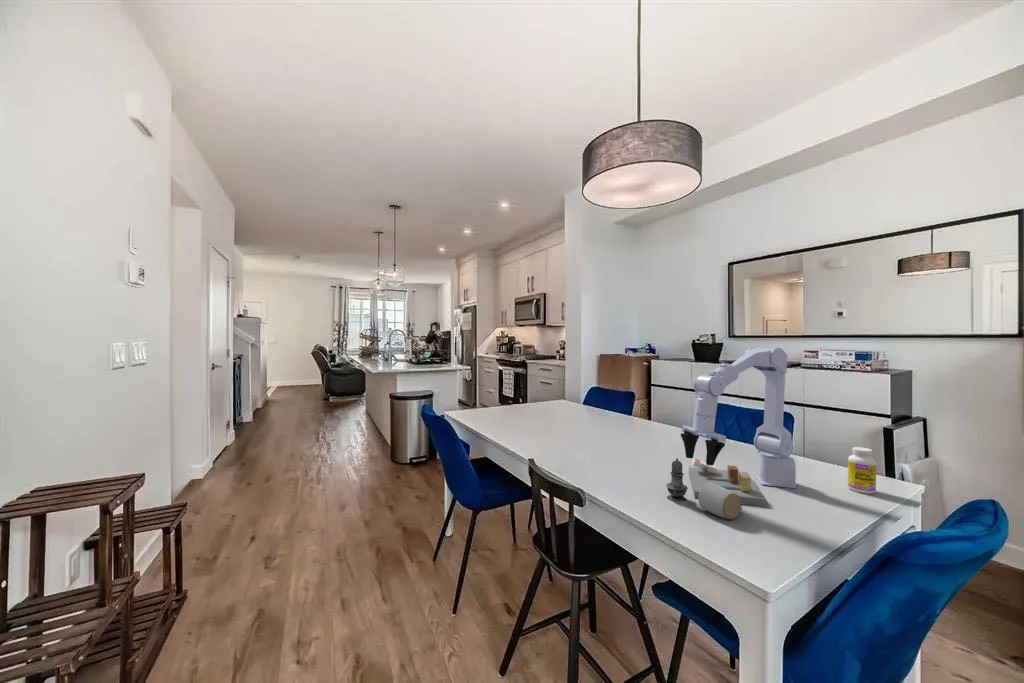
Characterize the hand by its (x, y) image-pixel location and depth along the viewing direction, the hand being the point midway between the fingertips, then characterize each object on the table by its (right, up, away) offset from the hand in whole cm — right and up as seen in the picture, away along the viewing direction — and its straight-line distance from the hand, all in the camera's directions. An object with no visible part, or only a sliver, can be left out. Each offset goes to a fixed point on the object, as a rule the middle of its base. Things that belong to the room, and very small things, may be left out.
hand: (699, 461), depth 124 cm
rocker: (+9, -6, +16) cm, 19 cm away
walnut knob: (+14, -8, +7) cm, 18 cm away
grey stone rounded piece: (-7, -11, -1) cm, 13 cm away
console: (+11, -10, +8) cm, 17 cm away
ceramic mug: (+1, -11, -11) cm, 16 cm away
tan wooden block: (+14, -8, 0) cm, 16 cm away
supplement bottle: (+52, -11, +5) cm, 53 cm away
